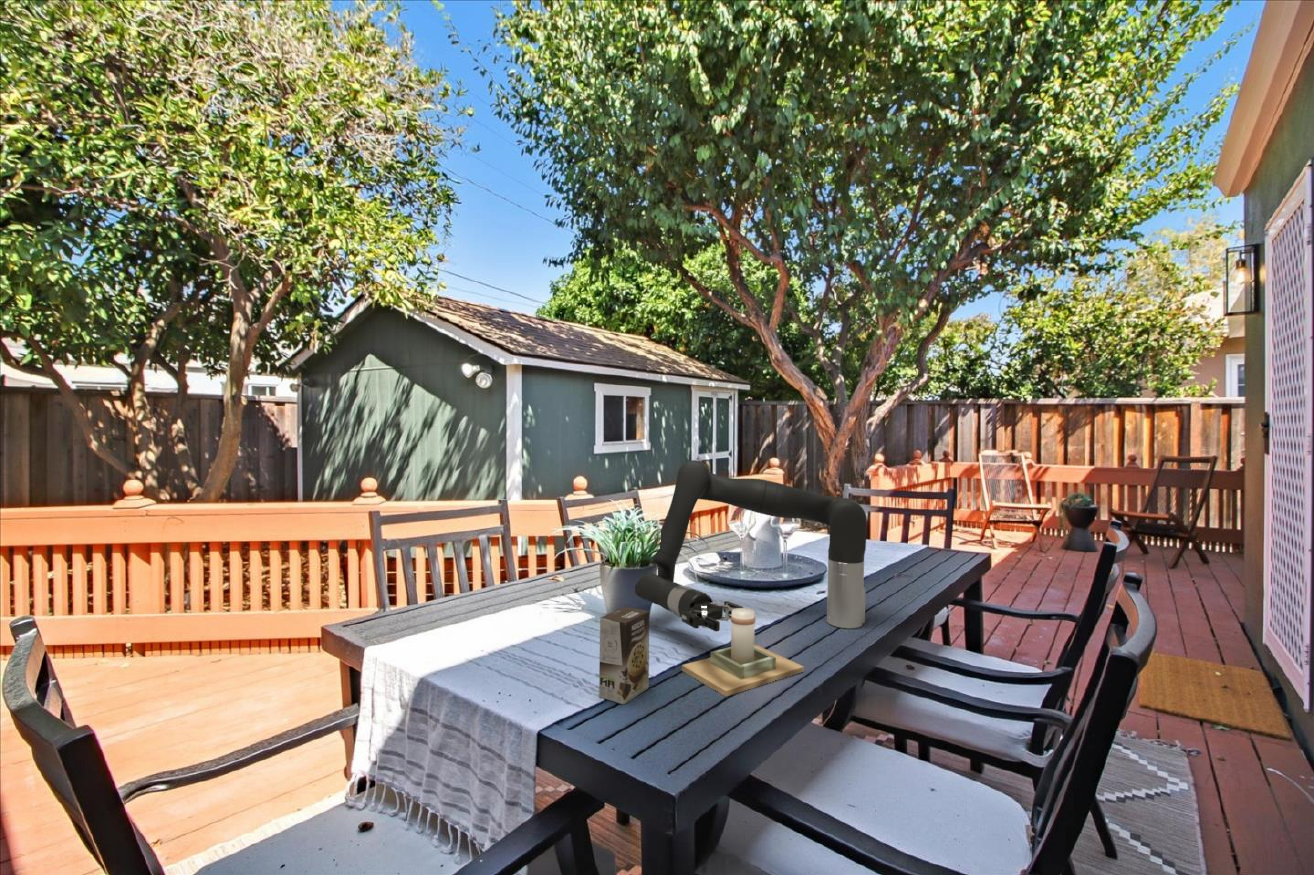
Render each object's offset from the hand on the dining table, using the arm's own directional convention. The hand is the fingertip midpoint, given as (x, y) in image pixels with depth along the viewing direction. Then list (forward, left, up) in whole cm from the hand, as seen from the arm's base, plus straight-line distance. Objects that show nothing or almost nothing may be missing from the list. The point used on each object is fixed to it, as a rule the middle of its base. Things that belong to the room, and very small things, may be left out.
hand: (733, 623), depth 141 cm
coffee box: (+27, -2, -10) cm, 29 cm away
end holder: (0, +3, -10) cm, 10 cm away
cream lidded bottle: (0, +3, -8) cm, 9 cm away
